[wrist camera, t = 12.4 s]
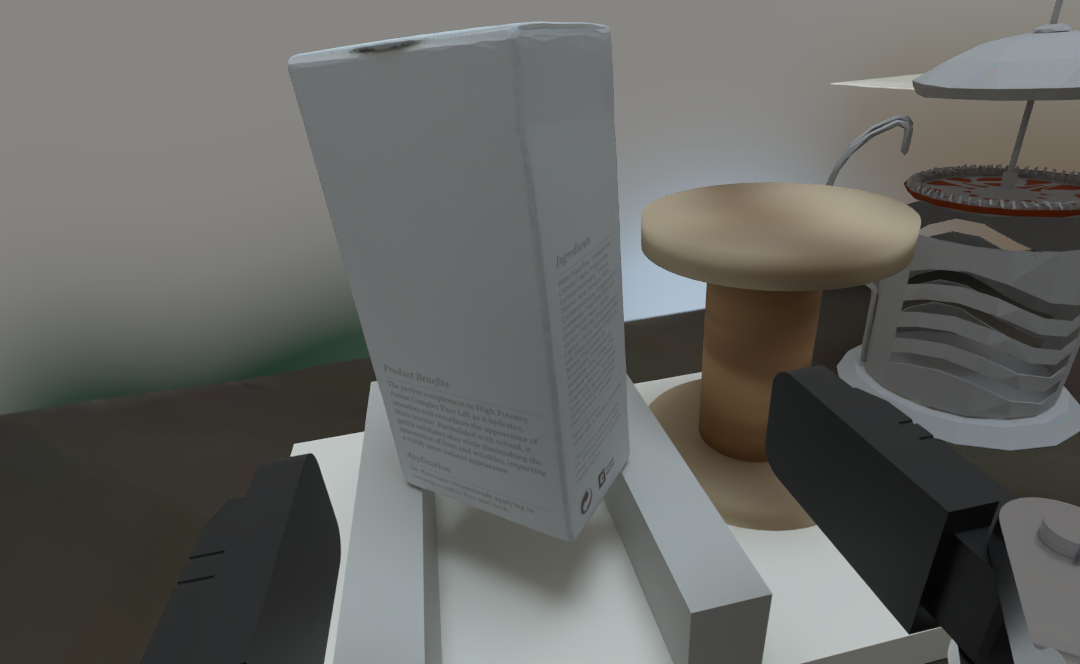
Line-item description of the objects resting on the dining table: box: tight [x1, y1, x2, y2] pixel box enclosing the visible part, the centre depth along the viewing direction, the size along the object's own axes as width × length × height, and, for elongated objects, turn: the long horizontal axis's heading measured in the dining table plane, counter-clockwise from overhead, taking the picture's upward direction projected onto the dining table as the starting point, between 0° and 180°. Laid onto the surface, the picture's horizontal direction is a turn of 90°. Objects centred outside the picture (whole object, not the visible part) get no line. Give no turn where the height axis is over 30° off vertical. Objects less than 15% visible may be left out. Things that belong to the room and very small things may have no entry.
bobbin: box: [641, 182, 921, 531], centre depth 20 cm, size 8×8×10 cm
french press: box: [826, 0, 1080, 451], centre depth 22 cm, size 10×12×25 cm
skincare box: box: [288, 22, 630, 542], centre depth 15 cm, size 6×4×12 cm
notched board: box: [290, 372, 952, 664], centre depth 20 cm, size 22×14×4 cm, turn 101°
